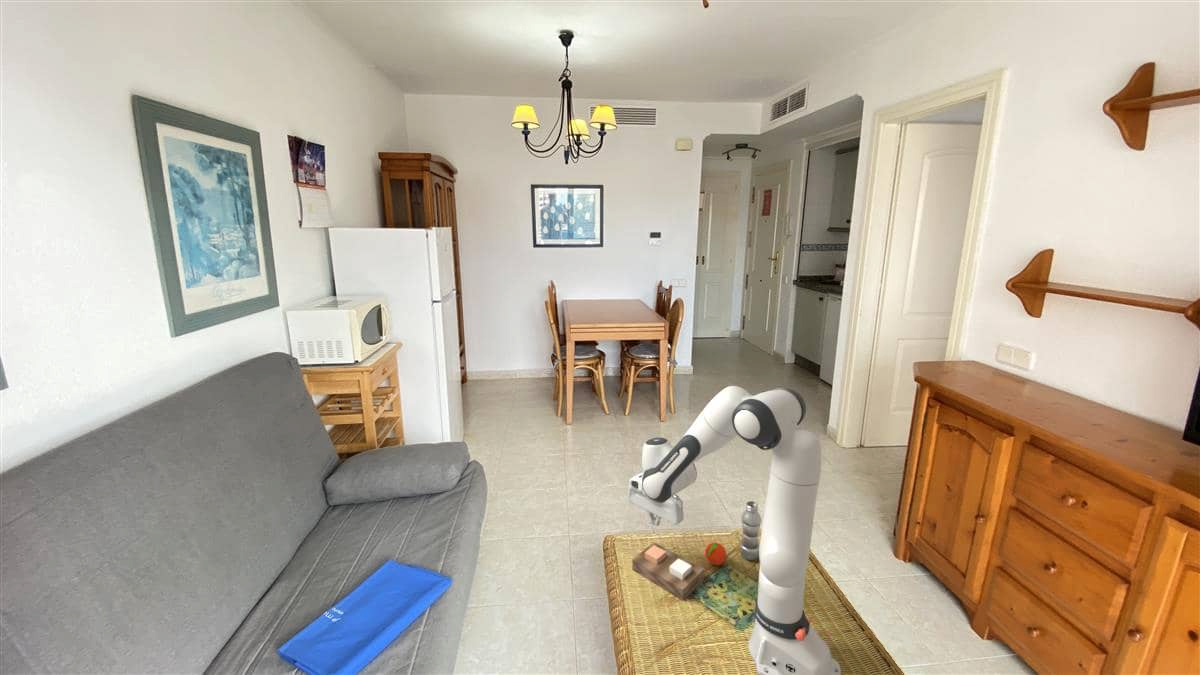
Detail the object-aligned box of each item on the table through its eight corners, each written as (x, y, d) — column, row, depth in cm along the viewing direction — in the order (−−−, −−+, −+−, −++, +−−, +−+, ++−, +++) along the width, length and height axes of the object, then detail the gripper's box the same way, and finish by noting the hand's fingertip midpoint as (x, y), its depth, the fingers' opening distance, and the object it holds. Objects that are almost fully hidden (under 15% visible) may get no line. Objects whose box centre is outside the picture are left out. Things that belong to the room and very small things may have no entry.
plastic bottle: (739, 561, 162) (741, 508, 157) (739, 548, 168) (742, 497, 163) (759, 564, 160) (762, 511, 155) (759, 551, 166) (762, 500, 162)
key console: (703, 579, 154) (704, 569, 153) (682, 600, 145) (682, 589, 144) (654, 552, 167) (654, 542, 166) (632, 569, 159) (632, 559, 158)
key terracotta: (665, 558, 159) (665, 551, 158) (656, 566, 156) (656, 559, 155) (653, 552, 162) (654, 545, 162) (644, 559, 159) (644, 552, 158)
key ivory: (691, 573, 152) (691, 565, 152) (682, 581, 149) (682, 574, 148) (678, 565, 156) (678, 558, 155) (669, 574, 152) (669, 566, 152)
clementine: (716, 574, 156) (716, 555, 154) (698, 563, 161) (699, 545, 159) (730, 562, 161) (730, 544, 159) (712, 552, 166) (713, 535, 165)
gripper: (688, 494, 148) (686, 533, 151) (637, 471, 162) (637, 507, 165) (676, 502, 144) (675, 542, 147) (625, 478, 157) (625, 515, 161)
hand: (654, 523), depth 156 cm, fingers closed
